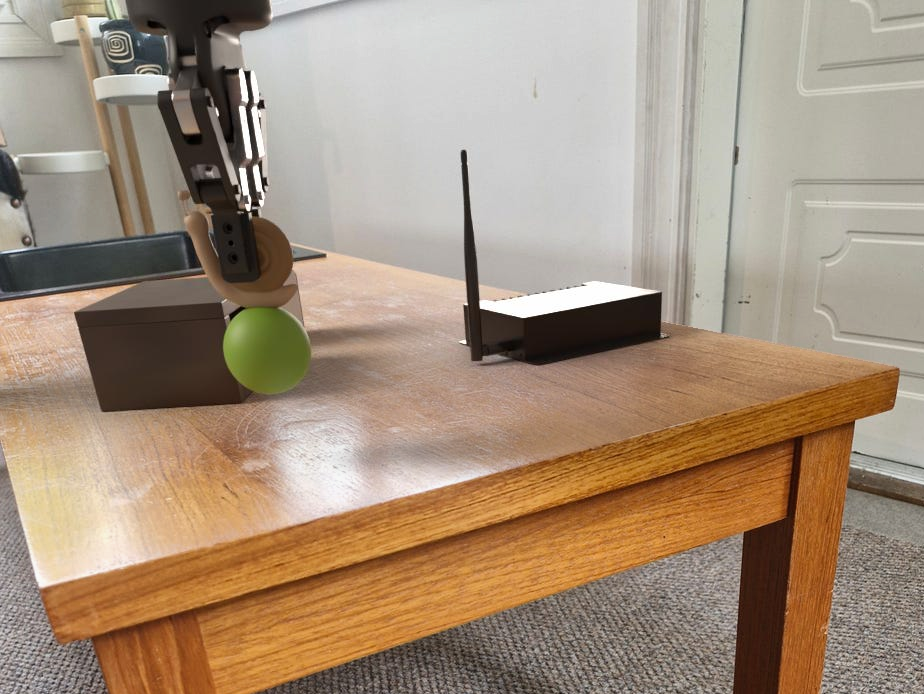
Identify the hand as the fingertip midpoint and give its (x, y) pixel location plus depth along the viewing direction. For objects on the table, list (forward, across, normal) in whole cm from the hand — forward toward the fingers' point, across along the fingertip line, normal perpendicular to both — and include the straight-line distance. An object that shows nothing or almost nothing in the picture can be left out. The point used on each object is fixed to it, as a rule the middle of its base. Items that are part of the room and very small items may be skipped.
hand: (247, 277), depth 55 cm
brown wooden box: (+12, -24, -13) cm, 30 cm away
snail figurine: (+7, 0, 0) cm, 7 cm away
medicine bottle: (+12, -41, -11) cm, 44 cm away
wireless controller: (+12, -32, +19) cm, 39 cm away
